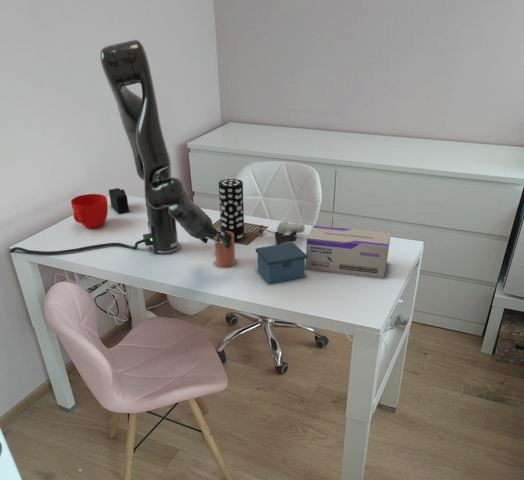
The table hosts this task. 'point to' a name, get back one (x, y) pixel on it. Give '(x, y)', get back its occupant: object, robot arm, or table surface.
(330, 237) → the surgical sutures box
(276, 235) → the clip-on lamp
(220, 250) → the tumbler
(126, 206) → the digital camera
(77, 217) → the ceramic cup
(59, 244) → the table surface
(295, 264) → the storage box
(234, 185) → the white-spotted black cylinder
